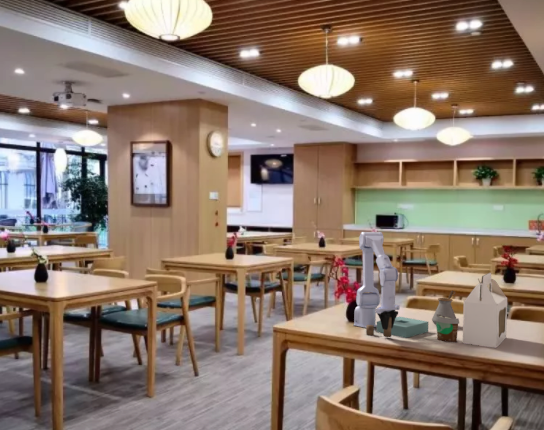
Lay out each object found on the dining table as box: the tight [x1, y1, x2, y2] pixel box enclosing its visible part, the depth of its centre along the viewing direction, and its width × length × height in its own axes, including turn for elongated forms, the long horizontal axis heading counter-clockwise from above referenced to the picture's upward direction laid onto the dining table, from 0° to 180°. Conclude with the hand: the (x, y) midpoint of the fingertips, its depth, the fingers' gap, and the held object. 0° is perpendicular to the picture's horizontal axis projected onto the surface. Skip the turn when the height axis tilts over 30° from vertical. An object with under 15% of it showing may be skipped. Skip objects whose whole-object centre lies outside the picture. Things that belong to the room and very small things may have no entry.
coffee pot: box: [431, 290, 457, 327], centre depth 273 cm, size 21×12×15 cm, turn 149°
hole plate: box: [376, 316, 429, 339], centre depth 256 cm, size 15×18×4 cm
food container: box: [435, 314, 460, 343], centre depth 241 cm, size 12×6×10 cm, turn 21°
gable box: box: [462, 272, 508, 349], centre depth 242 cm, size 22×13×28 cm, turn 148°
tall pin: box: [383, 317, 392, 338], centre depth 243 cm, size 3×3×8 cm
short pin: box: [365, 325, 375, 337], centre depth 249 cm, size 3×3×4 cm
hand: (387, 328), depth 243 cm, fingers closed on tall pin, 3 cm apart
